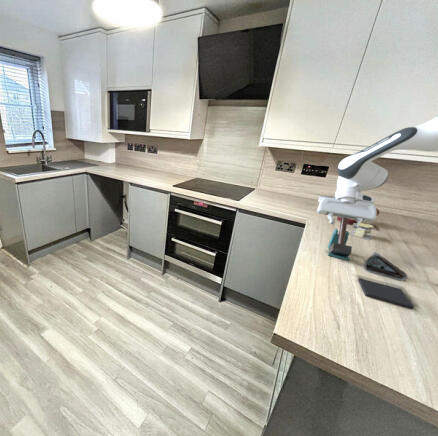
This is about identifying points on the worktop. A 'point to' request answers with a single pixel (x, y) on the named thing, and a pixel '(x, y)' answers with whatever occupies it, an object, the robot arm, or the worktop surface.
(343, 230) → the mallet
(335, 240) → the rest
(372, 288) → the mat
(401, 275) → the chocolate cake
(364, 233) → the stacked layers on plate
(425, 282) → the worktop surface
